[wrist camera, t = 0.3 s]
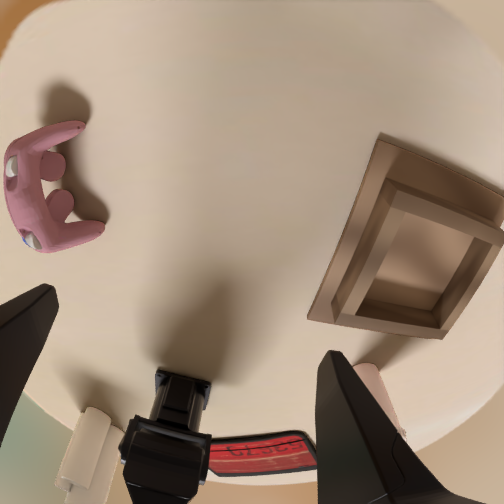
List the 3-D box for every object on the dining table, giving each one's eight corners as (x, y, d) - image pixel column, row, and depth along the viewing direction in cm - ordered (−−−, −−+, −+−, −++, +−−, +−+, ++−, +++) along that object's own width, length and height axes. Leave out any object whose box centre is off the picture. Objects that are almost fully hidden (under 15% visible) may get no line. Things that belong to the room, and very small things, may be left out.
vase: (131, 440, 47) (106, 532, 30) (101, 434, 48) (74, 519, 31) (101, 408, 41) (65, 514, 24) (70, 402, 42) (32, 498, 25)
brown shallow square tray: (429, 335, 28) (438, 356, 26) (307, 315, 27) (309, 340, 25) (508, 199, 20) (528, 215, 17) (377, 138, 19) (392, 149, 16)
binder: (324, 469, 45) (219, 478, 50) (324, 458, 47) (220, 468, 52) (301, 435, 38) (175, 445, 43) (301, 421, 40) (178, 433, 45)
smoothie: (393, 350, 30) (424, 471, 18) (384, 384, 33) (405, 490, 21) (334, 359, 30) (348, 486, 19) (332, 392, 34) (341, 501, 22)
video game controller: (62, 119, 21) (-12, 146, 16) (89, 114, 19) (2, 144, 14) (84, 224, 26) (22, 261, 21) (112, 235, 24) (42, 278, 19)
